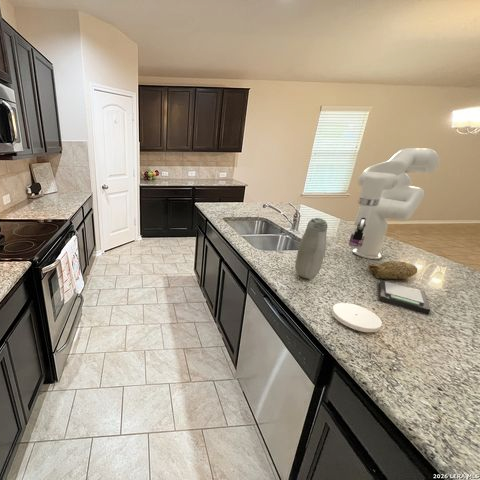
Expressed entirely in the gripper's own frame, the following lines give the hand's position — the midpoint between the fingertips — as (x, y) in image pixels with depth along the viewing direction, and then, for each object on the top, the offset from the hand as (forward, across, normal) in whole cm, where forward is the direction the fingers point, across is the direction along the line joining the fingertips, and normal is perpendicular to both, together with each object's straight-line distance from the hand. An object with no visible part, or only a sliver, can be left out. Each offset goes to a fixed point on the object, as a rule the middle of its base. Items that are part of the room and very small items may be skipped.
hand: (357, 237), depth 124 cm
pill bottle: (+5, 0, 0) cm, 5 cm away
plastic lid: (+14, +53, +5) cm, 55 cm away
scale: (+14, +24, +19) cm, 33 cm away
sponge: (+15, +2, +17) cm, 23 cm away
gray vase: (+14, +29, -15) cm, 36 cm away
